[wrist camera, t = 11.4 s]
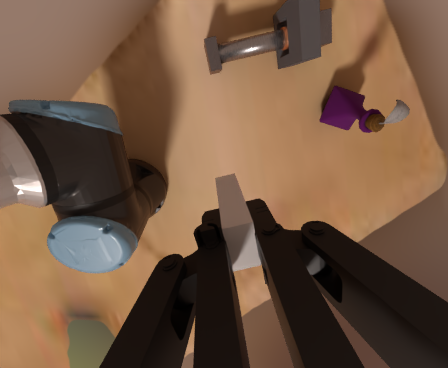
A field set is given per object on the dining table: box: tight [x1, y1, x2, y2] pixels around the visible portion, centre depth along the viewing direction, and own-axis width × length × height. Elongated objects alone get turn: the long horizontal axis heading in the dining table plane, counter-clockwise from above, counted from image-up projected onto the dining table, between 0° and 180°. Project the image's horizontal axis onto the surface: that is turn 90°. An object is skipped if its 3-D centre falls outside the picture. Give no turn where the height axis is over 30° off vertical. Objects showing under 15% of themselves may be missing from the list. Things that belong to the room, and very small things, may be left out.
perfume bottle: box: [320, 86, 410, 133], centre depth 40 cm, size 8×8×18 cm
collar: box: [273, 0, 321, 69], centre depth 36 cm, size 3×9×12 cm, turn 12°
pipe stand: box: [204, 8, 332, 75], centre depth 39 cm, size 22×5×7 cm, turn 102°
